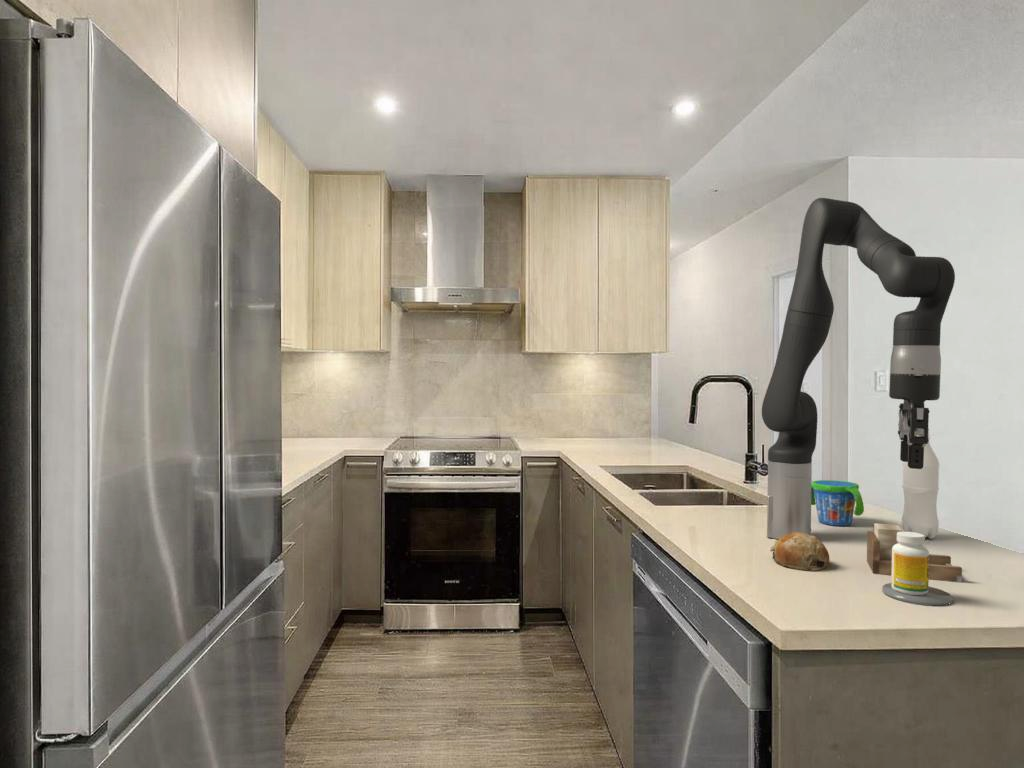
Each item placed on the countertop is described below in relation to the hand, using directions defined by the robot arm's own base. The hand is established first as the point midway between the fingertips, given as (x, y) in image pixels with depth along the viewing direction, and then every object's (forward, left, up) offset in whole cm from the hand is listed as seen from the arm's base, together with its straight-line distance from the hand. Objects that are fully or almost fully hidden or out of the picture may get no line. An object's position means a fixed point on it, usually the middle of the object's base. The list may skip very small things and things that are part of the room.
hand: (911, 464), depth 116 cm
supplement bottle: (-1, -6, -21) cm, 21 cm away
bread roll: (-18, +8, -22) cm, 29 cm away
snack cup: (-8, +50, -21) cm, 55 cm away
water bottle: (+9, +42, -21) cm, 48 cm away
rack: (+2, +10, -21) cm, 24 cm away
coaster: (0, -6, -21) cm, 22 cm away
